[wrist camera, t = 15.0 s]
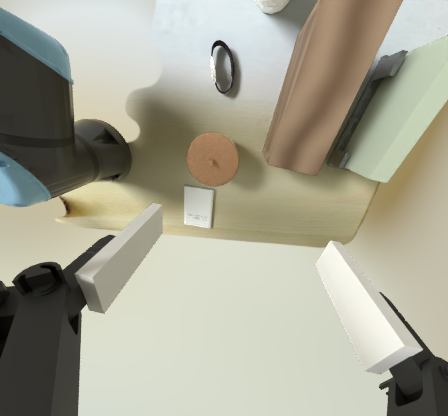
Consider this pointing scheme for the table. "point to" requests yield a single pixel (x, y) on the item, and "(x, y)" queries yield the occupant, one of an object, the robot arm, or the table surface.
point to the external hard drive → (198, 206)
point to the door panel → (400, 112)
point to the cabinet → (325, 79)
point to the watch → (217, 43)
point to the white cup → (271, 5)
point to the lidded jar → (213, 159)
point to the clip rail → (365, 104)
